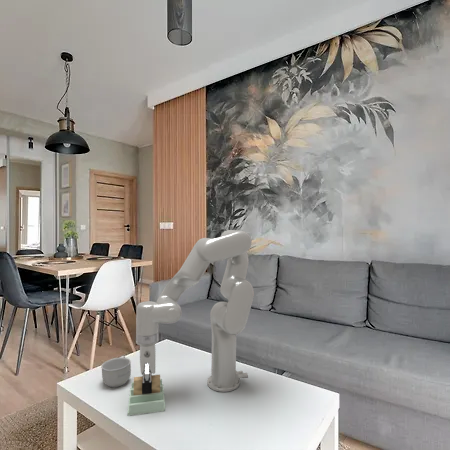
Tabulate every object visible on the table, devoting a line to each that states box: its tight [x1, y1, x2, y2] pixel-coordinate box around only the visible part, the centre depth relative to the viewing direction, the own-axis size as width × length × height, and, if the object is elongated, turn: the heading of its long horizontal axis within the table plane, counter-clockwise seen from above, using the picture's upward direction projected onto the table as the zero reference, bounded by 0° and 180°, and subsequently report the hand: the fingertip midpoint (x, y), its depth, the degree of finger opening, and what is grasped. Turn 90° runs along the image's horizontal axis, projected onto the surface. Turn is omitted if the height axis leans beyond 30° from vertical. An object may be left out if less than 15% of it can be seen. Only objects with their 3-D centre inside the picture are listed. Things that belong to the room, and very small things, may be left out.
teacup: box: [100, 355, 132, 388], centre depth 122 cm, size 14×11×8 cm
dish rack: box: [127, 378, 166, 417], centre depth 109 cm, size 12×16×3 cm
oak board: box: [133, 374, 161, 395], centre depth 109 cm, size 9×3×7 cm, turn 104°
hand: (147, 386), depth 109 cm, fingers open, 9 cm apart
